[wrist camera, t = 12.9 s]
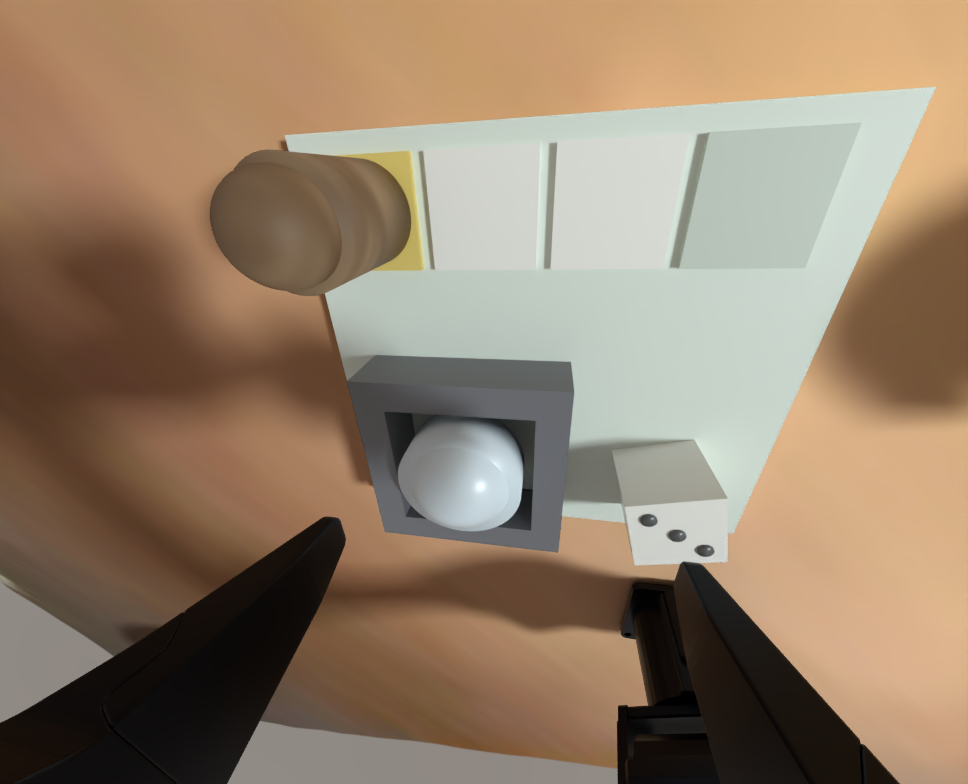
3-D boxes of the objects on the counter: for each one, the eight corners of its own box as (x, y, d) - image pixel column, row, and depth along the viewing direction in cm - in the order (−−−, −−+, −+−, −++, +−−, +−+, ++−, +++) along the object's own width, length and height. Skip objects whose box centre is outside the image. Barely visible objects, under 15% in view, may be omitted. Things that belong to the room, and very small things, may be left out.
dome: (525, 482, 21) (518, 564, 17) (428, 474, 22) (396, 549, 18) (528, 395, 18) (519, 465, 14) (416, 390, 19) (373, 453, 15)
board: (725, 520, 21) (735, 538, 20) (382, 486, 25) (374, 500, 24) (907, 94, 12) (945, 84, 10) (300, 138, 15) (279, 134, 14)
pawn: (416, 266, 16) (329, 319, 10) (332, 263, 16) (203, 312, 10) (405, 157, 14) (286, 141, 8) (309, 158, 14) (132, 145, 8)
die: (696, 497, 20) (728, 563, 16) (620, 503, 21) (634, 567, 17) (694, 439, 18) (729, 500, 14) (611, 449, 19) (625, 508, 16)
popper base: (557, 510, 22) (558, 552, 19) (403, 494, 23) (385, 531, 21) (570, 361, 17) (574, 392, 14) (375, 354, 19) (346, 381, 16)
